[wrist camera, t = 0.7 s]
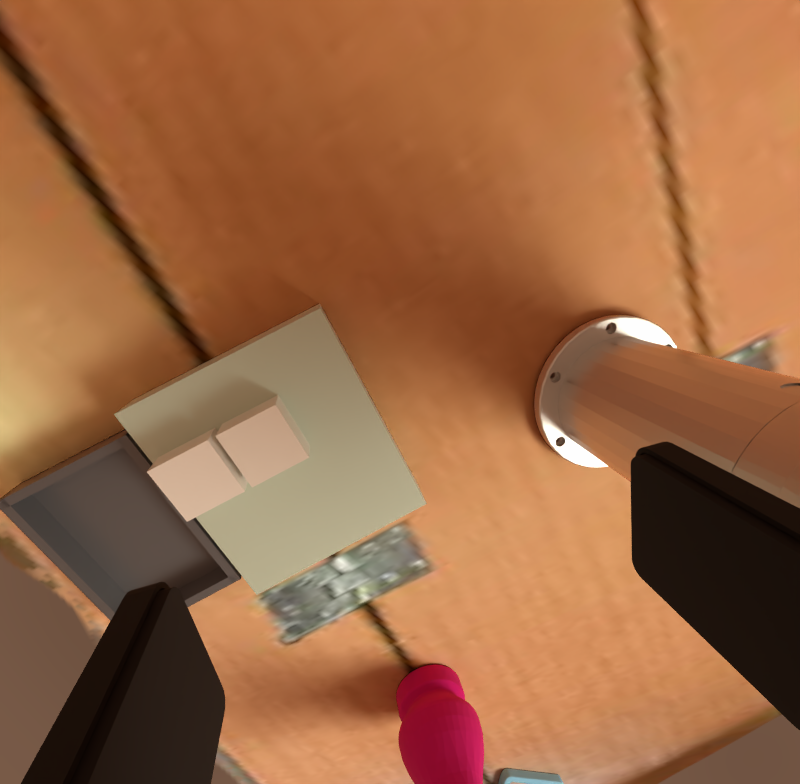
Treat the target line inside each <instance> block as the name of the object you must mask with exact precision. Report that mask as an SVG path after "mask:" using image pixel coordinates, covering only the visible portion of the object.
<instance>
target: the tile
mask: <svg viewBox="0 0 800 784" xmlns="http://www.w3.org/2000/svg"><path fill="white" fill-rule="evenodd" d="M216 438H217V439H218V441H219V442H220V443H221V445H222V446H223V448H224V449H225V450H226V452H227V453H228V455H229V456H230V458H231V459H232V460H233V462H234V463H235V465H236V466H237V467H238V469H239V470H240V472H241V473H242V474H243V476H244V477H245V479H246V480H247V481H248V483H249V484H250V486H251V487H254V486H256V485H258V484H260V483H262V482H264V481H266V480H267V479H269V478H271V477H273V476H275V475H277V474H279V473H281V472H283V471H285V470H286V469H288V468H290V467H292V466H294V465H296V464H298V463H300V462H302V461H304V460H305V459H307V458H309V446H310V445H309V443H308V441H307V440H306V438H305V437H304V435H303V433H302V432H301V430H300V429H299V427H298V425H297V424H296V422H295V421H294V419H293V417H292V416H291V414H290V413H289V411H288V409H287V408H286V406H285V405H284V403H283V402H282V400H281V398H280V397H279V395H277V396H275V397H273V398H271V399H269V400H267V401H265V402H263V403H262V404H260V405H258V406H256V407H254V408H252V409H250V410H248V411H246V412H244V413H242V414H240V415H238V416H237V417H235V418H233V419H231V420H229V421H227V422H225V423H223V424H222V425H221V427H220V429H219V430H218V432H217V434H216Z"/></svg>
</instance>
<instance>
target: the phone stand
mask: <svg viewBox="0 0 800 784" xmlns="http://www.w3.org/2000/svg"><path fill="white" fill-rule="evenodd" d="M511 782H519V783H527V784H564V783H563V781H562V780H561V778H560V776H559V775H558V774H550V773H542V772H534V771H525V770H517V769H509V768H506V769H504V770H503V771H502V773H501V775H500V779H499V783H498V784H510V783H511Z"/></svg>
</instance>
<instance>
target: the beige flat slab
mask: <svg viewBox="0 0 800 784" xmlns="http://www.w3.org/2000/svg"><path fill="white" fill-rule="evenodd" d="M277 395H279V397H280V398H281V400H282V402H283V403H284V405H285V406H286V408H287V409H288V411H289V413H290V414H291V416H292V417H293V419H294V421H295V422H296V424H297V425H298V427H299V429H300V430H301V432H302V433H303V435H304V437H305V438H306V440H307V441H308V443H309V445H310V446H309V458H307V459H305V460H304V461H302V462H300V463H298V464H296V465H294V466H292V467H290V468H288V469H286V470H285V471H283V472H281V473H279V474H277V475H275V476H273V477H271V478H269V479H267V480H266V481H264V482H262V483H260V484H258V485H256V486H254V487H251V486H250V484H249V483H247V486H246V489H245V492H243V493H241V494H239V495H237V496H235V497H233V498H231V499H230V500H228V501H226V502H224V503H222V504H220V505H218V506H216V507H214V508H212V509H211V510H209V511H207V512H205V513H203V514H201V515H199V516H197V517H196V519H197V520H198V521H199V522H200V524H201V525H202V526H203V528H204V529H205V530H206V531H207V533H208V534H209V535H210V536H211V538H212V539H213V540H214V541H215V543H216V544H217V545H218V546H219V548H220V549H221V550H222V551H223V553H224V554H225V555H226V557H227V558H228V559H229V560H230V562H231V563H232V564H233V565H234V567H235V568H236V569H237V570H238V572H239V573H240V574H241V575H242V577H243V578H244V579H245V580H246V582H247V583H248V584H249V585H250V587H251V588H252V589H253V591H254V592H255V593H256V594H259V593H261V592H263V591H265V590H267V589H269V588H271V587H272V586H274V585H276V584H278V583H280V582H282V581H284V580H285V579H287V578H289V577H291V576H293V575H295V574H297V573H299V572H300V571H302V570H304V569H306V568H308V567H310V566H312V565H313V564H315V563H317V562H319V561H321V560H323V559H325V558H327V557H328V556H330V555H332V554H334V553H336V552H338V551H340V550H341V549H343V548H345V547H347V546H349V545H351V544H353V543H354V542H356V541H358V540H360V539H362V538H364V537H366V536H368V535H369V534H371V533H373V532H375V531H377V530H379V529H381V528H382V527H384V526H386V525H388V524H390V523H392V522H394V521H396V520H397V519H399V518H401V517H403V516H405V515H407V514H409V513H410V512H412V511H414V510H416V509H418V508H420V507H422V506H424V505H425V504H427V503H426V501H425V499H424V497H423V495H422V492H421V490H420V488H419V486H418V484H417V482H416V480H415V478H414V476H413V475H412V473H411V471H410V469H409V467H408V465H407V463H406V462H405V460H404V458H403V456H402V454H401V452H400V451H399V449H398V447H397V445H396V443H395V441H394V439H393V438H392V436H391V434H390V432H389V430H388V428H387V427H386V425H385V423H384V421H383V419H382V417H381V415H380V414H379V412H378V410H377V408H376V406H375V404H374V402H373V401H372V399H371V397H370V395H369V393H368V391H367V390H366V388H365V386H364V384H363V382H362V380H361V378H360V377H359V375H358V373H357V371H356V369H355V367H354V366H353V364H352V362H351V360H350V358H349V356H348V354H347V353H346V351H345V349H344V347H343V345H342V343H341V342H340V340H339V338H338V336H337V334H336V332H335V330H334V329H333V327H332V325H331V323H330V321H329V319H328V318H327V316H326V314H325V312H324V310H323V308H322V306H321V305H320V304H318V305H316V306H314V307H312V308H310V309H308V310H306V311H304V312H302V313H300V314H298V315H296V316H294V317H292V318H290V319H289V320H287V321H285V322H283V323H281V324H279V325H277V326H275V327H273V328H271V329H269V330H267V331H265V332H263V333H261V334H259V335H257V336H256V337H254V338H252V339H250V340H248V341H246V342H244V343H242V344H240V345H238V346H236V347H234V348H232V349H230V350H228V351H226V352H224V353H223V354H221V355H219V356H217V357H215V358H213V359H211V360H209V361H207V362H205V363H203V364H201V365H199V366H197V367H195V368H193V369H191V370H190V371H188V372H186V373H184V374H182V375H180V376H178V377H176V378H174V379H172V380H170V381H168V382H166V383H164V384H162V385H160V386H159V387H157V388H155V389H153V390H151V391H149V392H147V393H145V394H143V395H141V396H139V397H137V398H135V399H133V400H132V401H131V402H129V403H128V404H127V405H126V406H124V407H123V408H122V409H120V410H119V411H118V412H116V413H115V414H114V415H115V417H116V418H117V419H118V420H119V422H120V423H121V424H122V425H123V427H124V428H125V429H126V430H127V432H128V433H129V434H130V436H131V437H132V438H133V439H134V441H135V442H136V443H137V444H138V446H139V447H140V448H141V449H142V451H143V452H144V453H145V454H146V456H147V457H148V458H149V459H150V461H151V462H152V463H154V462H155V461H156V459H157V458H158V457H160V456H162V455H164V454H166V453H167V452H169V451H171V450H173V449H175V448H177V447H179V446H181V445H183V444H185V443H187V442H189V441H190V440H192V439H194V438H196V437H198V436H200V435H202V434H204V433H206V432H208V431H210V430H212V429H214V428H216V430H217V431H218V430H219V429H220V427H221V425H222V424H223V423H225V422H227V421H229V420H231V419H233V418H235V417H237V416H238V415H240V414H242V413H244V412H246V411H248V410H250V409H252V408H254V407H256V406H258V405H260V404H262V403H263V402H265V401H267V400H269V399H271V398H273V397H275V396H277Z"/></svg>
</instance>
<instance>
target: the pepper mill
mask: <svg viewBox="0 0 800 784" xmlns="http://www.w3.org/2000/svg"><path fill="white" fill-rule="evenodd" d="M396 700H397V705H398V711H399V716H400V719H401V721H402V724H401V727H400V731H399V748H400V752H401V756H402V759H403V762H404V765H405V767H406V769H407V771H408V773H409V776H410V777H411V779H412V780H413V782H414V783H415V784H483V763H484V744H483V733H482V729H481V725H480V721H479V718H478V715H477V713H476V712H475V710H474V708H473V707H472V706H471V705H470V704H469V703H468V702H466V701H465V695H464V691H463V689H462V686H461V683H460V680H459V677H458V676H457V674H456V673H455V672H454V671H453V670H452V669H451V668H449V667H446V666H443V665H435V664H434V665H427V666H423V667H420V668H418V669H416V670H414V671H412V672H411V673H409V674H408V675H407V676H406V677H405V678H404V679H403V680H402V682H401V683H400V685H399V687H398V690H397V694H396Z"/></svg>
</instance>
